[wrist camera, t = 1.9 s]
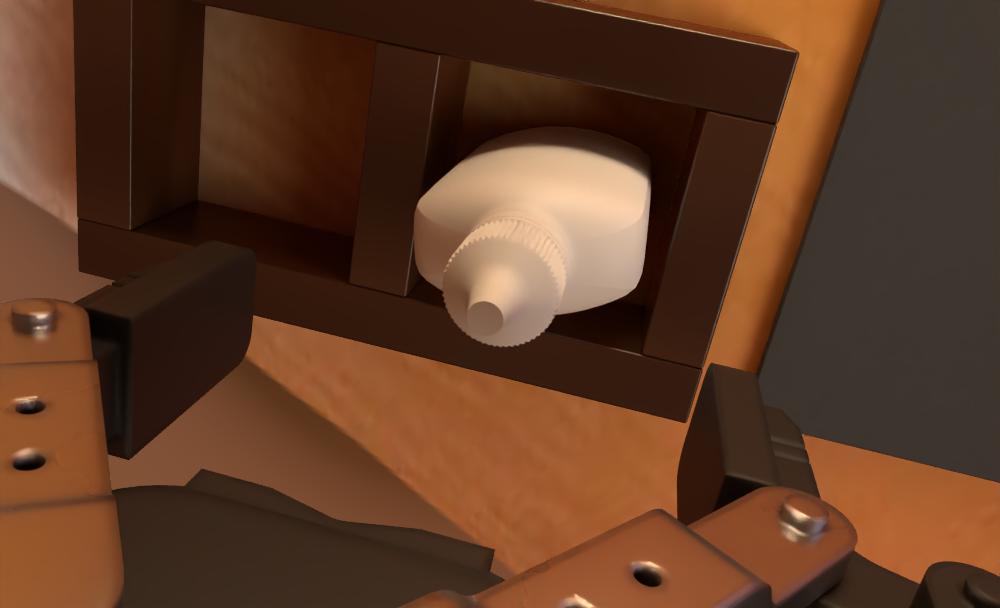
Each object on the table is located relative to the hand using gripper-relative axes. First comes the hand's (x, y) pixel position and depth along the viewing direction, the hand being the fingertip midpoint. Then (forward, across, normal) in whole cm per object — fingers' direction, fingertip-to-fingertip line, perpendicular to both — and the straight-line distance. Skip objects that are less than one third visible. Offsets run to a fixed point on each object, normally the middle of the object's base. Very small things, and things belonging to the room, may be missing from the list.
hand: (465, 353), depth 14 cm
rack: (+13, +4, 0) cm, 14 cm away
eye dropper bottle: (+14, 0, 0) cm, 14 cm away
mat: (+13, -14, -1) cm, 19 cm away
